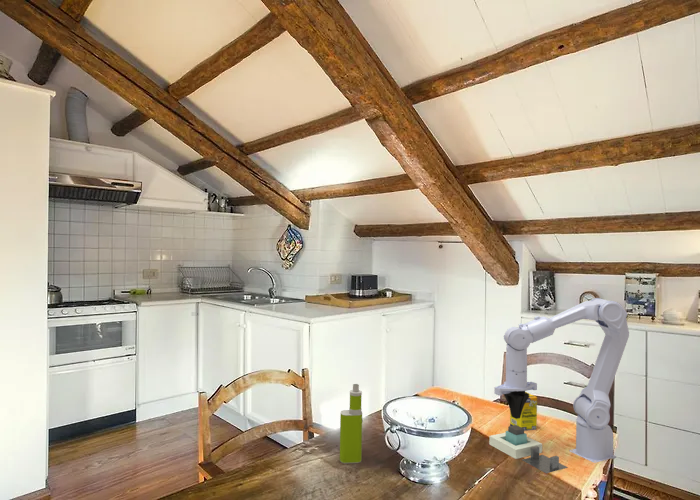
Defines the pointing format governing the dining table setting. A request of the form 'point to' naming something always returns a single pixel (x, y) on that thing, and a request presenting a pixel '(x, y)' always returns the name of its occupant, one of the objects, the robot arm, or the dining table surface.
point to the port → (513, 446)
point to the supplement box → (527, 415)
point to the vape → (351, 429)
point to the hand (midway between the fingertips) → (515, 417)
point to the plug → (516, 435)
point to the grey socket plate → (543, 461)
